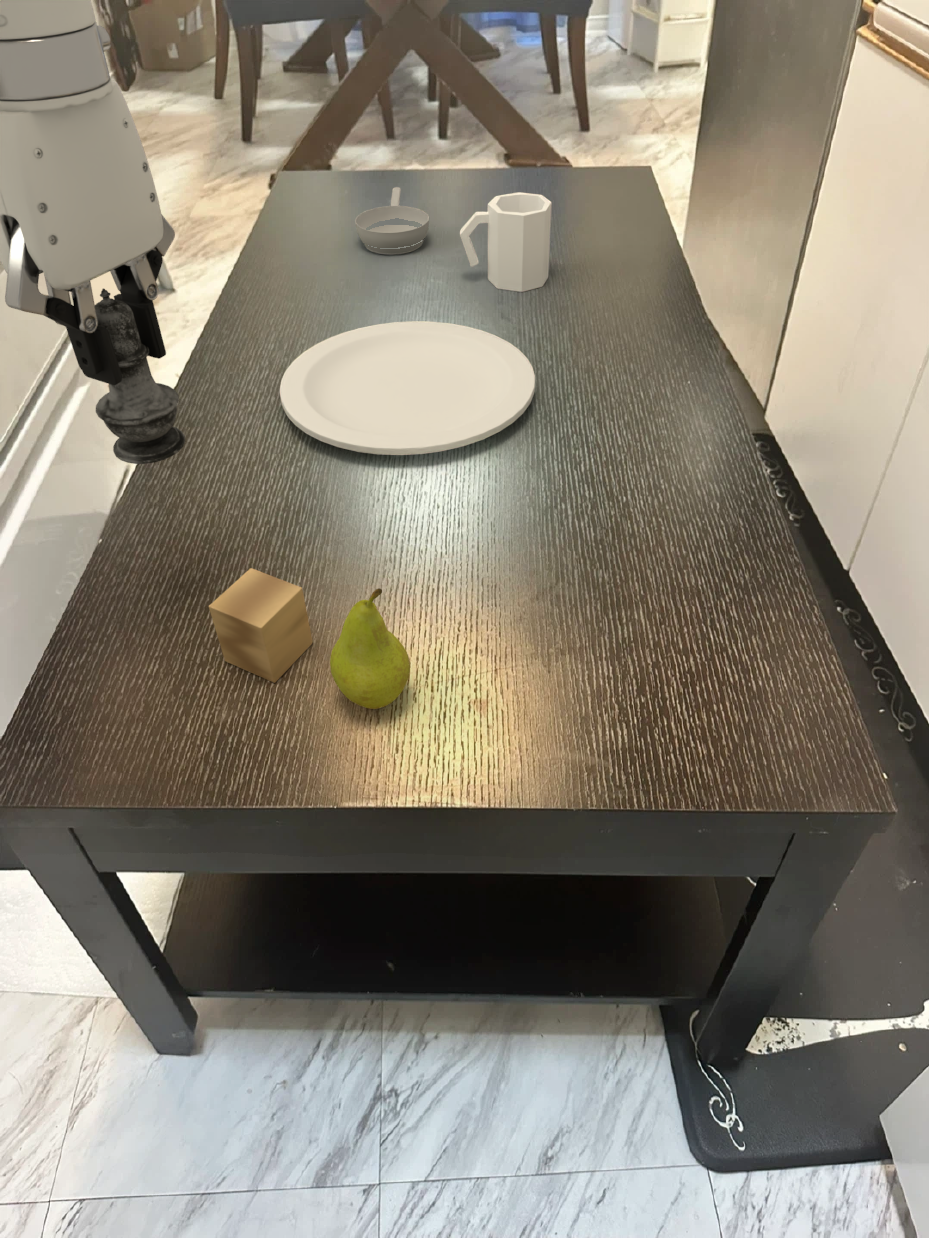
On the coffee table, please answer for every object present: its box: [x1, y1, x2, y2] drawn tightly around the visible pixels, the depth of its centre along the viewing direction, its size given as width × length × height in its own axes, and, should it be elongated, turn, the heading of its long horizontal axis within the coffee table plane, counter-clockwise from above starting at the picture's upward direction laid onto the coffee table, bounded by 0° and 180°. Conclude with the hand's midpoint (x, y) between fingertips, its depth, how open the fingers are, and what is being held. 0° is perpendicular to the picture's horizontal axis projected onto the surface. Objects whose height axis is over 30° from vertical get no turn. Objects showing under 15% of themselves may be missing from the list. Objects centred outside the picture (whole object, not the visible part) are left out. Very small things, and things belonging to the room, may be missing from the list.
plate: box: [279, 320, 536, 456], centre depth 98 cm, size 28×28×2 cm
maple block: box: [208, 567, 314, 684], centre depth 69 cm, size 5×5×6 cm
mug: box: [459, 191, 553, 293], centre depth 118 cm, size 12×9×10 cm
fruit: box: [329, 587, 411, 710], centre depth 63 cm, size 6×6×12 cm
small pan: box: [354, 186, 430, 256], centre depth 133 cm, size 11×18×4 cm, turn 0°
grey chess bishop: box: [95, 288, 186, 465], centre depth 63 cm, size 6×6×12 cm
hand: (125, 363), depth 62 cm, fingers closed on grey chess bishop, 3 cm apart
